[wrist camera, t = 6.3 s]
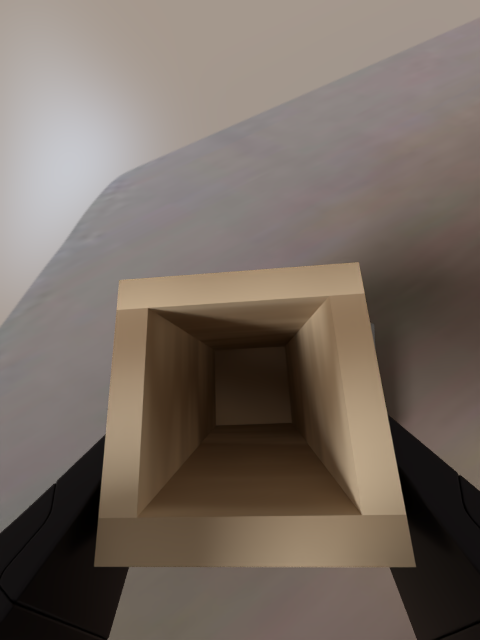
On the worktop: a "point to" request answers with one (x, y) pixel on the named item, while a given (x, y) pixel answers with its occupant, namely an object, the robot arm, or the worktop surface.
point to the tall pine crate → (249, 426)
